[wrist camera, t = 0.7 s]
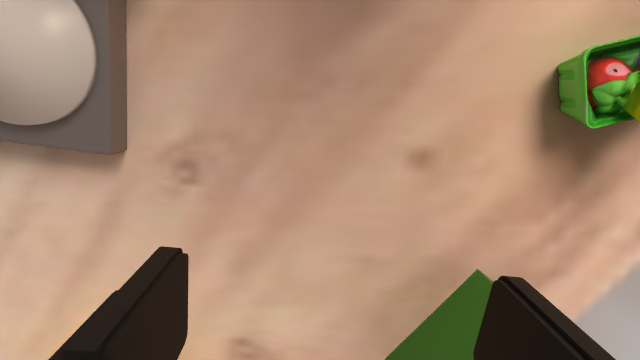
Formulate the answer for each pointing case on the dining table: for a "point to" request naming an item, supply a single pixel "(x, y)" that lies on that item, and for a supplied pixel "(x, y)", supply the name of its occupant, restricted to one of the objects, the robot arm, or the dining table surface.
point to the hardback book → (450, 325)
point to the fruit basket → (602, 84)
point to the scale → (64, 74)
